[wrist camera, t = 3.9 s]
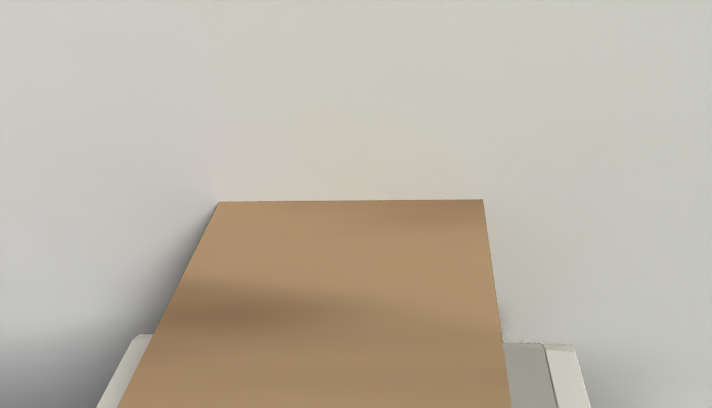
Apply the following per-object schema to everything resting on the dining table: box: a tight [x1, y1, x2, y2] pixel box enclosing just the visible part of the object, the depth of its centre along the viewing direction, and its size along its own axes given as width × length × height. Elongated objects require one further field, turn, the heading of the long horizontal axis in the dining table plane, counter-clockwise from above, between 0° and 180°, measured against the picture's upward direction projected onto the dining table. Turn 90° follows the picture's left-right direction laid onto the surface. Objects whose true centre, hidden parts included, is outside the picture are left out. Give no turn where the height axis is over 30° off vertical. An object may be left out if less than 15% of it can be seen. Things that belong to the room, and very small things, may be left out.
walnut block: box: [117, 200, 512, 408], centre depth 10 cm, size 5×5×5 cm
